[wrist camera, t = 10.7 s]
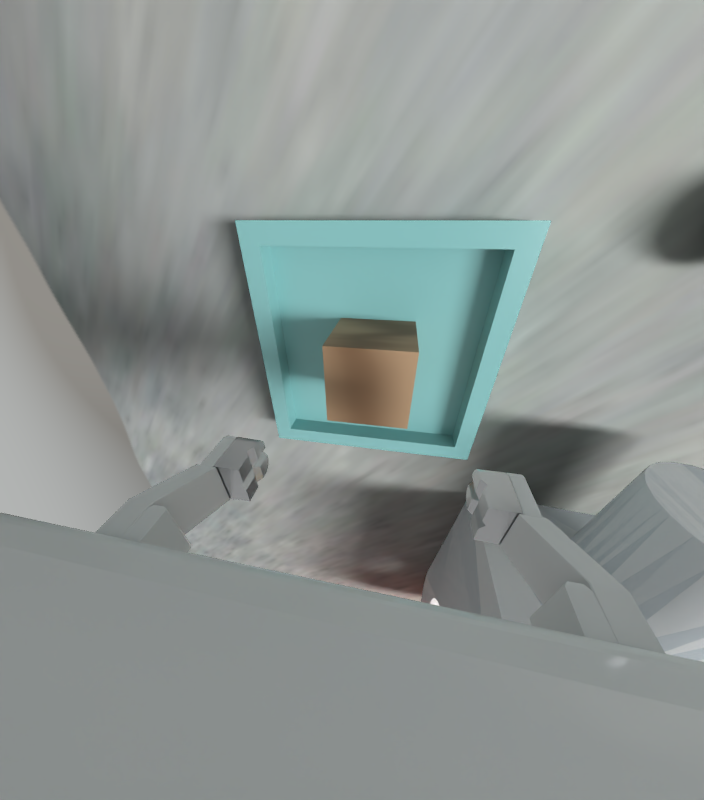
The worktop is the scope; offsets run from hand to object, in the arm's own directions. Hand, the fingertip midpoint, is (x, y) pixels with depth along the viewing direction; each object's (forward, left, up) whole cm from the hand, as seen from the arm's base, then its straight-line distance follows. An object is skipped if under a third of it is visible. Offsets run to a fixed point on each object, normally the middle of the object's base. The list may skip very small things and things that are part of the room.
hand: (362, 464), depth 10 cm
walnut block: (0, 0, -11) cm, 11 cm away
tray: (+1, 0, -12) cm, 12 cm away
